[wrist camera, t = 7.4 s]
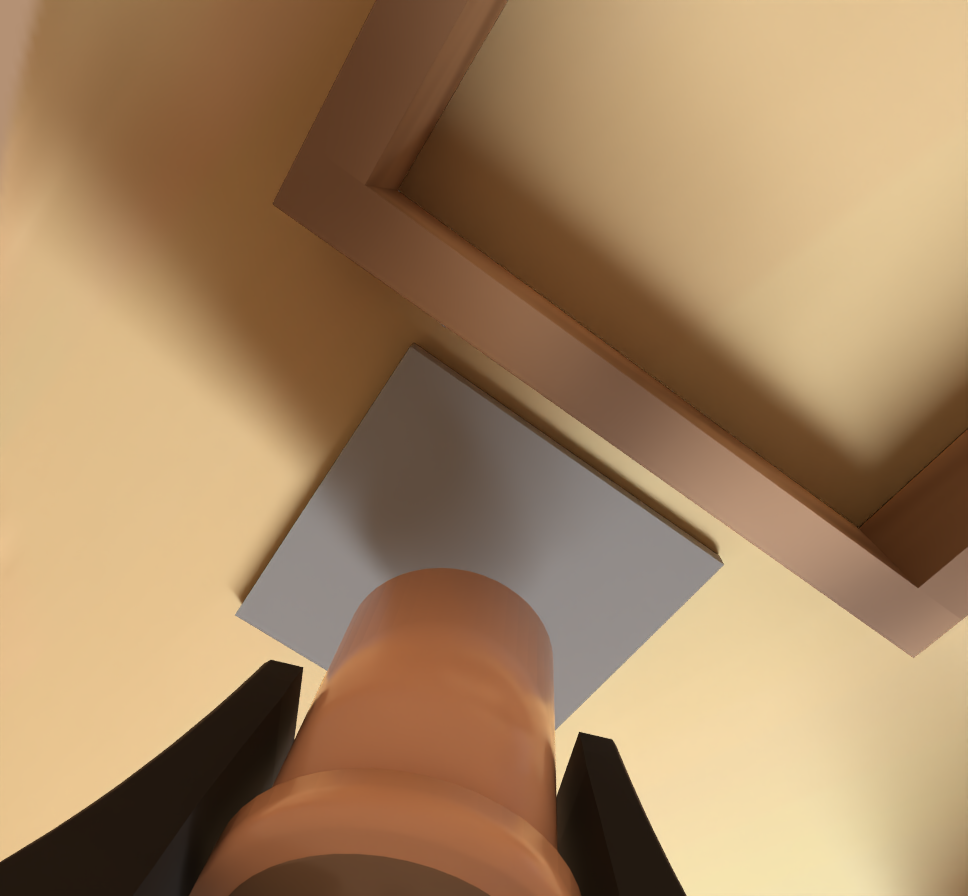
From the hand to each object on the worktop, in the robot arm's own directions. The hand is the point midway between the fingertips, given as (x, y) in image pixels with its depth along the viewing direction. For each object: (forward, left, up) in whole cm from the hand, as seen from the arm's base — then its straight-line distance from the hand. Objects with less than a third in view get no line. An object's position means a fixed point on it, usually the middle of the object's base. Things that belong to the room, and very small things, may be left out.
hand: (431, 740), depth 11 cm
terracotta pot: (0, 0, -2) cm, 2 cm away
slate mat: (0, 0, -5) cm, 5 cm away
